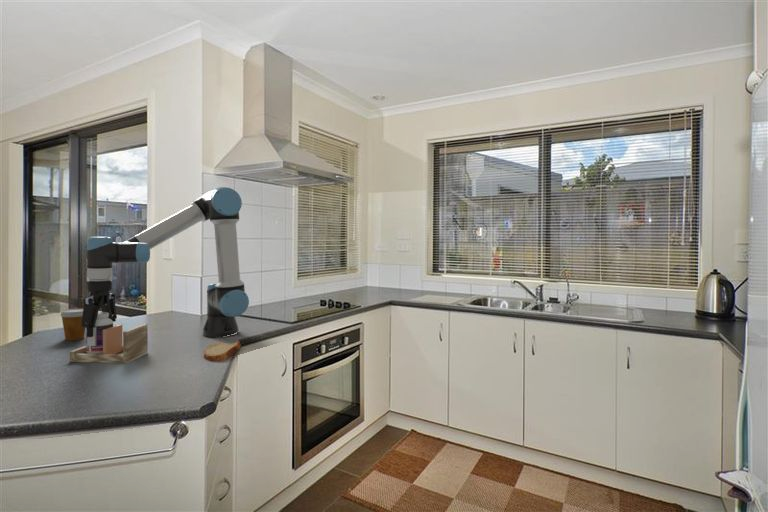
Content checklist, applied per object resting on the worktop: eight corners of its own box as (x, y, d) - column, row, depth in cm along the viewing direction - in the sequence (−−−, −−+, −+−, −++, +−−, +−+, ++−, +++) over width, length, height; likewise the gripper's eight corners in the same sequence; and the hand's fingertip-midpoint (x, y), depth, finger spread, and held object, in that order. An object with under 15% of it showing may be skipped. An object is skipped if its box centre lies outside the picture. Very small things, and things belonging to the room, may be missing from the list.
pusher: (122, 351, 156) (122, 324, 156) (106, 358, 147) (106, 330, 147) (119, 351, 156) (119, 324, 156) (102, 358, 147) (102, 329, 147)
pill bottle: (118, 350, 155) (118, 312, 154) (99, 356, 147) (99, 315, 146) (100, 349, 157) (100, 310, 156) (80, 354, 149) (80, 314, 148)
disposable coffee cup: (94, 337, 180) (93, 309, 179) (71, 342, 171) (70, 313, 170) (78, 335, 183) (78, 307, 182) (54, 340, 174) (54, 311, 173)
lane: (147, 353, 158) (147, 324, 158) (127, 362, 146) (127, 331, 145) (94, 351, 158) (94, 322, 158) (69, 361, 146) (69, 330, 145)
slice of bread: (213, 363, 148) (213, 353, 148) (189, 353, 160) (189, 344, 160) (258, 353, 162) (258, 344, 162) (232, 345, 173) (232, 336, 173)
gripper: (108, 276, 161) (108, 335, 162) (67, 282, 140) (68, 350, 141) (127, 277, 161) (128, 336, 162) (90, 283, 140) (90, 350, 141)
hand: (100, 342), depth 152 cm, fingers closed on pill bottle, 8 cm apart
